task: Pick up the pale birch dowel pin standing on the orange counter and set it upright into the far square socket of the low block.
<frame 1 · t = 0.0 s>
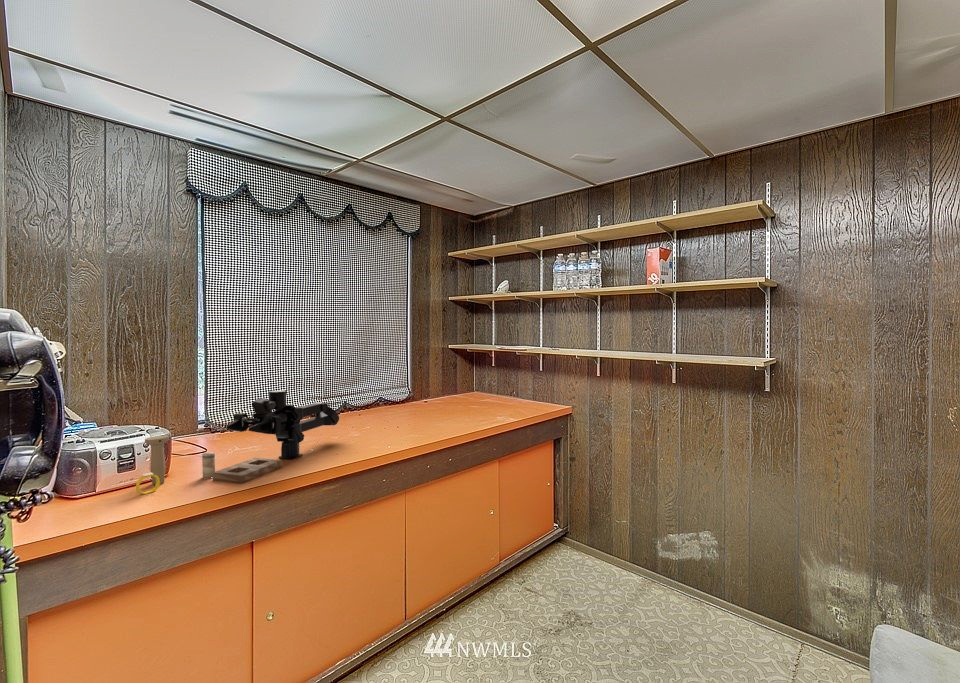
hand: (237, 428, 153), 17 cm above the worktop, tool horizontal, fingers open, 9 cm apart
yellow round part: (148, 493, 139), on the worktop
handle: (158, 484, 148), on the worktop
pin: (208, 476, 154), on the worktop
bore block: (248, 473, 158), on the worktop
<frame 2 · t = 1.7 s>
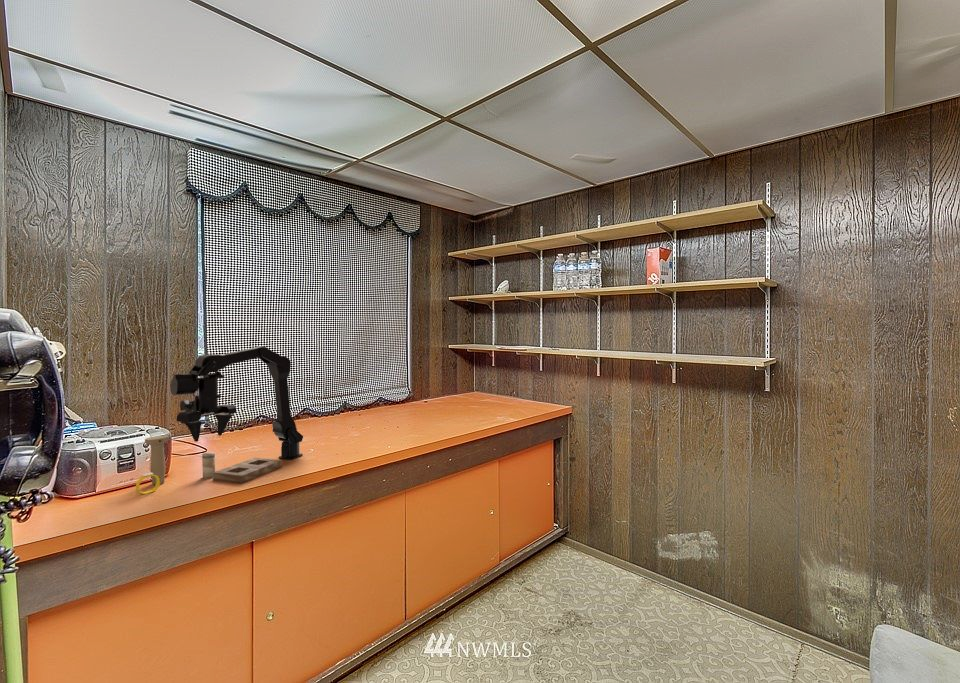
hand: (208, 438, 154), 13 cm above the worktop, tool pointing down, fingers open, 9 cm apart
nothing on the worktop moved.
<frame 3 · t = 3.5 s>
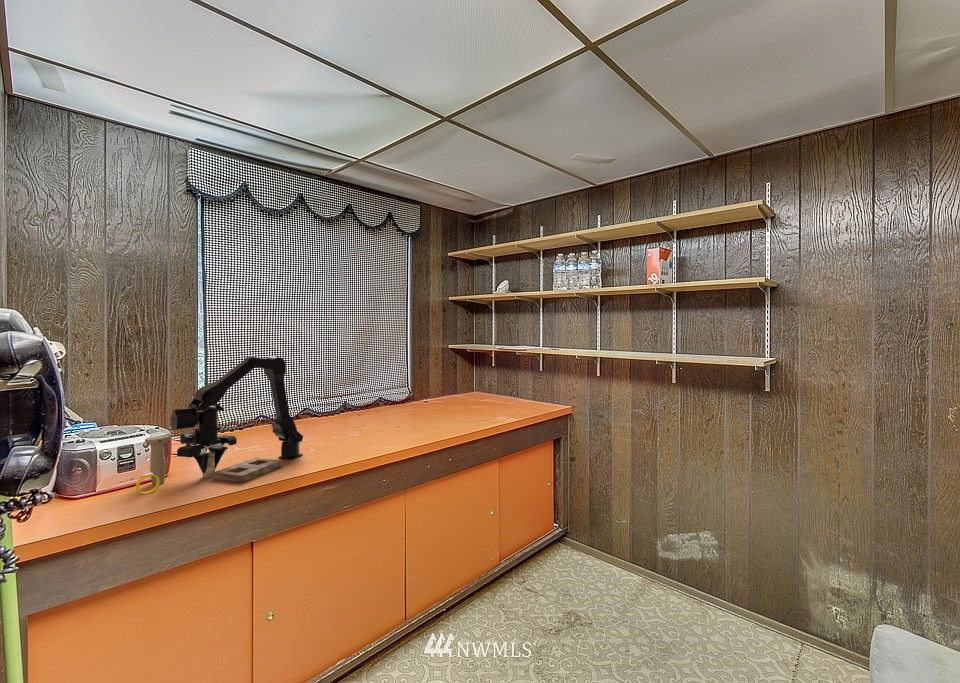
hand: (208, 470, 154), 2 cm above the worktop, tool pointing down, fingers closed on pin, 4 cm apart
pin: (208, 476, 154), on the worktop, touching gripper
everything else where it was.
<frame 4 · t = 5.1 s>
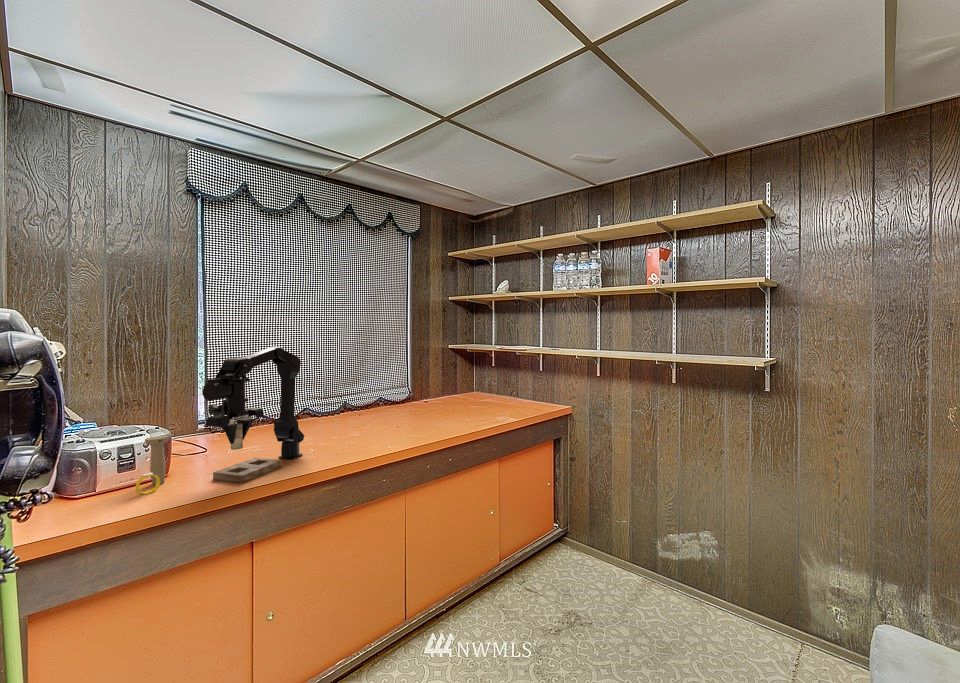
hand: (236, 442, 153), 12 cm above the worktop, tool pointing down, fingers closed on pin, 4 cm apart
pin: (236, 448, 153), point 10 cm above the worktop, touching gripper
everything else where it was.
when the fingers open (3 cm above the worktop, at t = 7.0 s): pin stays where it is, resting on bore block.
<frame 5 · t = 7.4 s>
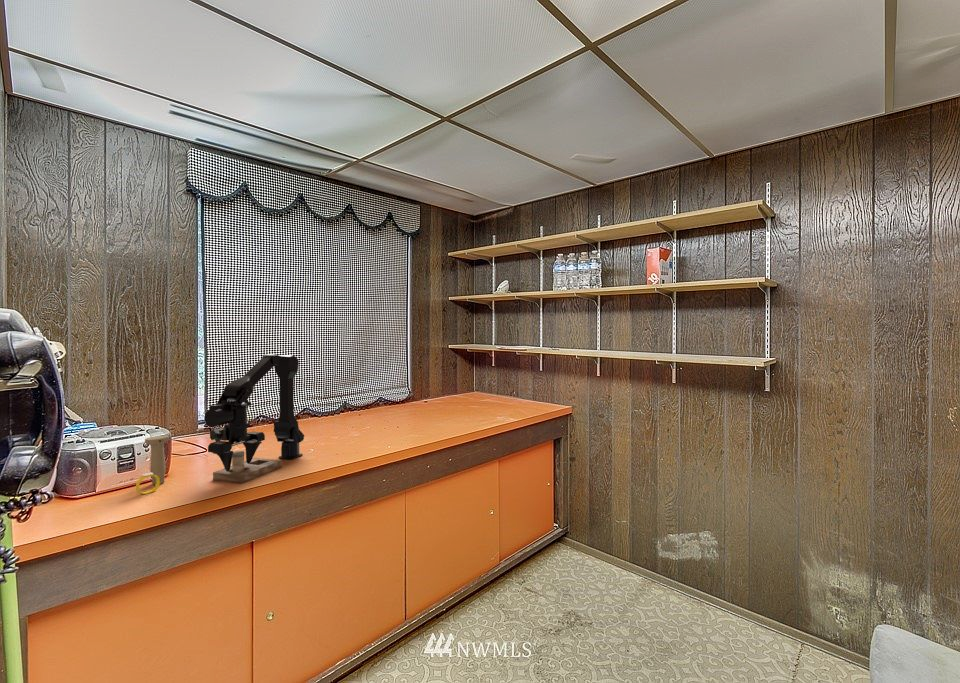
hand: (238, 467, 154), 3 cm above the worktop, tool pointing down, fingers open, 8 cm apart
pin: (238, 475, 154), point 1 cm above the worktop, touching bore block
everything else where it was.
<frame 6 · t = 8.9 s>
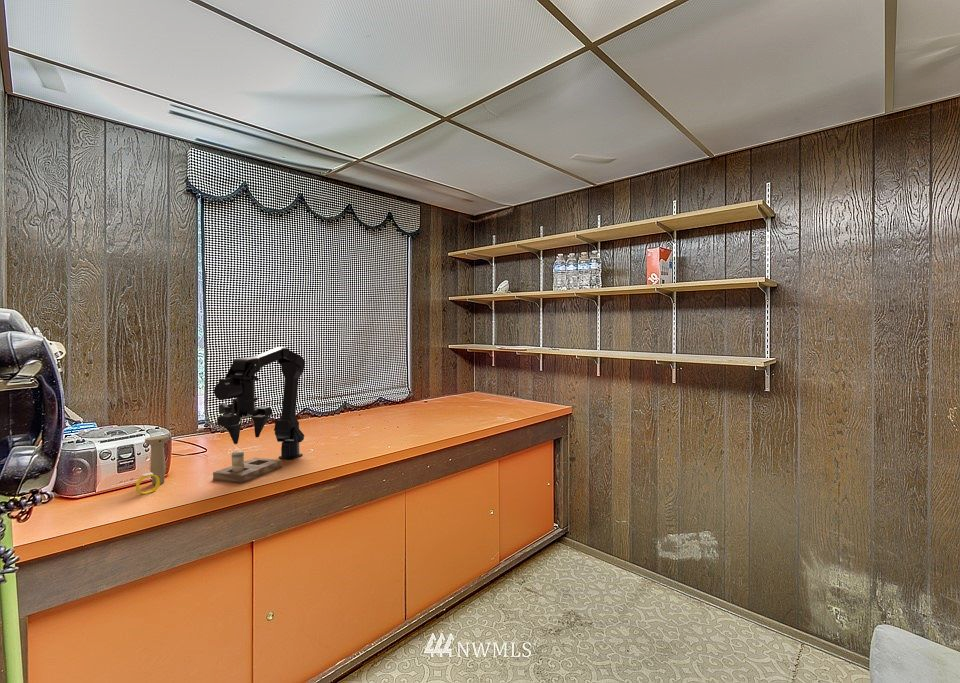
hand: (246, 440, 156), 12 cm above the worktop, tool pointing down, fingers open, 9 cm apart
nothing on the worktop moved.
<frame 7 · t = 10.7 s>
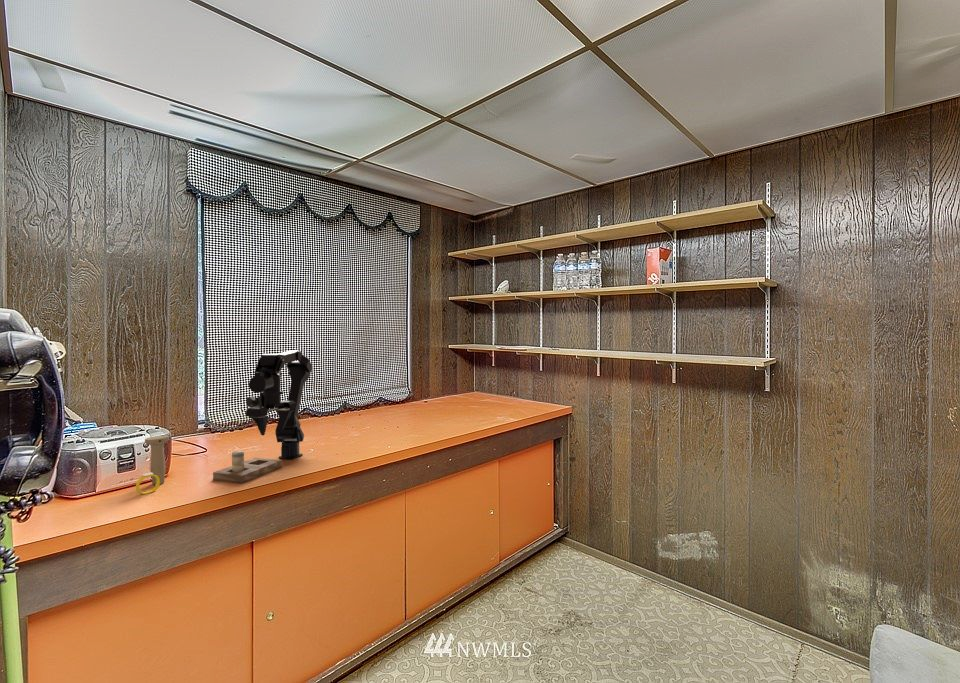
hand: (272, 432, 163), 13 cm above the worktop, tool pointing down, fingers open, 9 cm apart
nothing on the worktop moved.
at the end: pin 0.0 cm from the target spot on the bore block, point 0.5 cm above the bore block's base; pin tilted 1°; the gripper is holding nothing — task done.
